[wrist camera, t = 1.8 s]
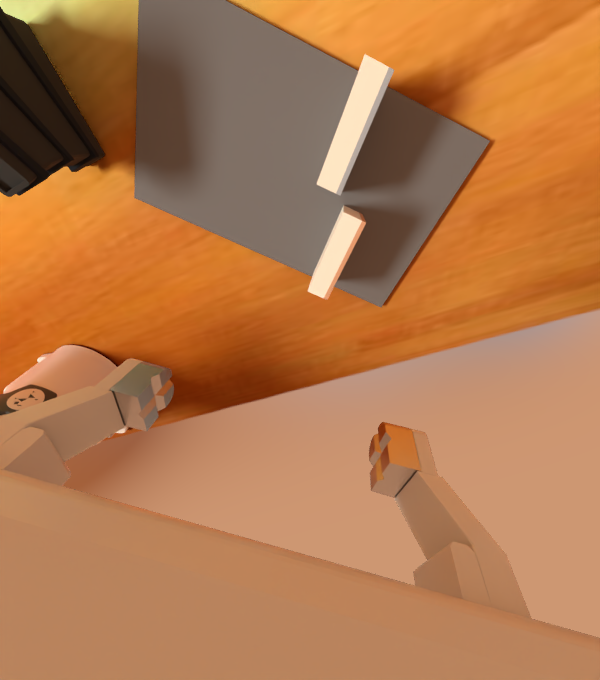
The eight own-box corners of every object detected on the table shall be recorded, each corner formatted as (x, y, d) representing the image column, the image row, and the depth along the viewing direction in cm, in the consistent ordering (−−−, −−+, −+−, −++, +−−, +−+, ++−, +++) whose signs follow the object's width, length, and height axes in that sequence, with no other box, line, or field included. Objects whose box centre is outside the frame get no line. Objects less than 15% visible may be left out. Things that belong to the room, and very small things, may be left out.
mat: (380, 305, 33) (381, 307, 33) (137, 197, 31) (134, 197, 30) (486, 141, 24) (490, 140, 23) (144, -40, 21) (139, -46, 20)
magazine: (-26, -49, 21) (-236, -46, 12) (123, 136, 31) (62, 205, 23) (-51, -19, 22) (-260, 1, 14) (101, 150, 32) (35, 220, 24)
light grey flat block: (340, 191, 27) (340, 195, 22) (321, 182, 27) (316, 184, 22) (383, 93, 22) (394, 69, 17) (360, 81, 22) (364, 54, 17)
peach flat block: (329, 280, 32) (327, 299, 27) (313, 272, 32) (307, 291, 27) (362, 214, 28) (366, 222, 23) (343, 205, 27) (343, 212, 22)
